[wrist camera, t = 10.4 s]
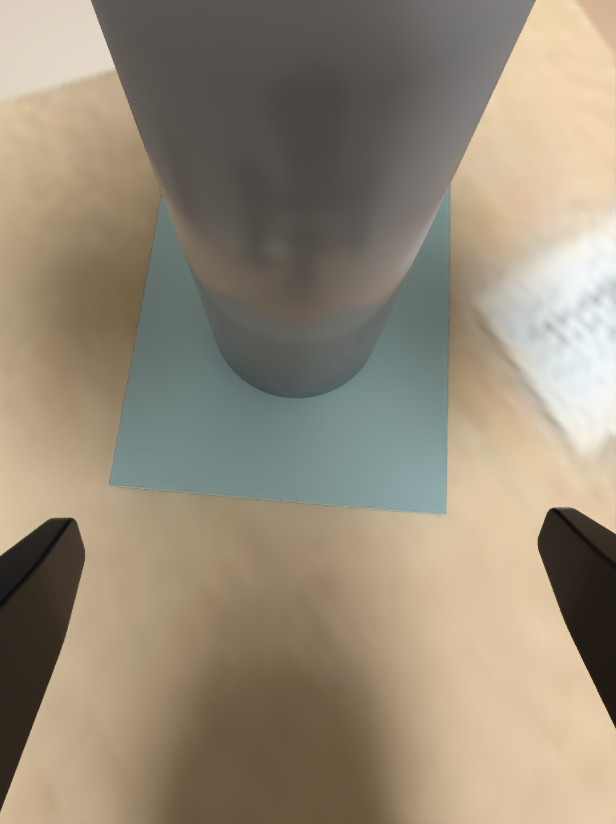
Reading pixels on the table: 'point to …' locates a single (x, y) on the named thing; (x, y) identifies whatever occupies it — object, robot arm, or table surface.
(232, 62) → the grey domed cylinder
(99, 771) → the table surface
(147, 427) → the slate board
